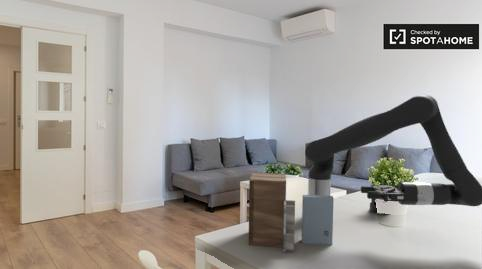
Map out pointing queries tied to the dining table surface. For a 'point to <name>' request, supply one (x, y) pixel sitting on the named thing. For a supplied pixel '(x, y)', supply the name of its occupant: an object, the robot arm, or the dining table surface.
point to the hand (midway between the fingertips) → (364, 192)
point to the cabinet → (270, 212)
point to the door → (317, 219)
